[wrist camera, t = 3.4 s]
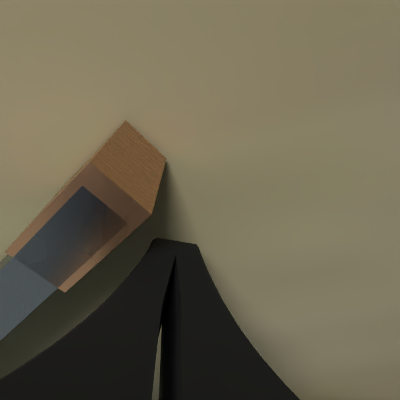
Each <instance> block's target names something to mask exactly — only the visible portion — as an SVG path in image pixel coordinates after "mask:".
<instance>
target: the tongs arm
mask: <svg viewBox="0 0 400 400" xmlns="http://www.w3.org/2000/svg"><path fill="white" fill-rule="evenodd" d="M165 162H166V158H165V157H164V156H163V155H162V154H161V153H160V152H159V151H158V150H157V149H155V148H154V147H153V146H152V145H151V144H150V143H149V142H148V141H147V140H146V139H145V138H144V137H143V136H142V135H141V134H140V133H139V132H138V131H136V130H135V129H134V128H133V127H132V126H131V125H130V124H129V123H128V122H127V121H125V122H124V123H123V124H122V125H121V126H120V127H119V128H118V129H117V130H116V131H115V132H114V133H113V134H112V135H111V136H110V138H109V139H108V140H107V141H106V142H105V143H104V144H103V145H102V146H101V147H100V148H99V149H98V150H97V151H96V152H95V153H94V155H93V156H92V157H91V158H90V159H89V160H88V161H87V162H86V163H85V164H84V165H83V166H82V167H81V168H80V169H79V170H78V172H77V173H76V174H75V175H74V176H73V177H72V178H71V179H70V180H69V181H68V182H67V183H66V184H65V185H64V186H63V187H62V189H61V190H60V191H59V192H58V193H57V194H56V195H55V196H54V198H53V199H52V200H51V201H50V202H49V203H48V204H47V205H46V207H45V208H44V209H43V210H42V211H41V212H40V213H39V214H38V216H37V217H36V218H35V219H34V220H33V221H32V222H31V223H30V224H29V226H28V227H27V228H26V229H25V230H24V231H23V232H22V233H21V235H20V236H19V237H18V238H17V239H16V240H15V241H14V242H13V244H12V245H11V246H10V247H9V248H8V249H7V250H6V251H5V252H6V253H7V254H8V255H7V256H6V257H5V258H4V259H3V260H2V261H1V262H0V341H1V340H2V339H3V338H4V337H5V336H6V335H7V334H8V333H9V332H10V331H11V330H13V329H14V328H15V327H16V326H17V325H18V324H19V323H20V322H21V321H22V320H23V319H25V318H26V317H27V316H28V315H29V314H30V313H31V312H32V311H33V310H34V309H35V308H37V307H38V306H39V305H40V304H41V303H42V302H43V301H44V300H45V299H46V298H47V297H49V296H50V295H51V294H52V293H53V292H54V291H55V290H56V289H57V288H59V289H60V290H62V291H63V292H66V291H67V290H69V289H70V288H71V287H72V286H73V285H74V284H75V283H76V282H77V281H79V280H80V279H81V278H82V277H83V276H84V275H85V274H86V273H87V272H89V271H90V270H91V269H92V268H93V267H94V266H95V265H96V264H97V263H99V262H100V261H101V260H102V259H103V258H104V257H105V256H106V255H107V254H109V253H110V252H111V251H112V250H113V249H114V248H115V247H116V246H117V245H119V244H120V243H121V242H122V241H123V240H124V239H125V238H126V237H127V236H129V235H130V234H131V233H132V232H133V231H134V230H135V229H136V228H137V227H139V226H140V225H141V224H142V223H143V222H144V221H145V220H146V219H147V218H149V217H150V216H151V215H152V211H153V208H154V204H155V200H156V196H157V192H158V189H159V185H160V181H161V177H162V173H163V170H164V166H165Z"/></svg>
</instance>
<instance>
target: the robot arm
mask: <svg viewBox="0 0 400 400" xmlns="http://www.w3.org/2000/svg"><path fill="white" fill-rule="evenodd" d="M161 324H162V333H161V360H160V388H159V400H300V399H299V398H298V397H297V396H296V395H295V394H294V393H293V392H292V391H291V390H290V389H289V388H288V387H287V386H286V385H285V384H284V383H283V381H282V380H281V379H280V378H279V377H278V376H277V375H276V373H275V372H274V371H273V370H272V369H271V368H270V367H269V365H268V364H267V363H266V362H265V361H264V360H263V358H262V357H261V356H260V355H259V353H258V352H257V351H256V350H255V348H254V347H253V346H252V344H251V343H250V342H249V340H248V339H247V338H246V336H245V335H244V333H243V332H242V331H241V329H240V328H239V326H238V325H237V323H236V322H235V320H234V318H233V317H232V315H231V314H230V312H229V310H228V309H227V307H226V305H225V304H224V302H223V300H222V298H221V296H220V295H219V293H218V291H217V289H216V287H215V285H214V283H213V281H212V279H211V277H210V275H209V272H208V270H207V268H206V266H205V263H204V261H203V258H202V256H201V253H200V250H199V247H198V246H197V245H196V244H191V243H185V242H179V241H173V240H167V239H161V238H156V239H154V240H153V241H152V243H151V245H150V247H149V249H148V250H147V252H146V254H145V255H144V256H143V258H142V259H141V261H140V262H139V263H138V265H137V266H136V267H135V268H134V270H133V271H132V272H131V273H130V275H129V276H128V277H127V278H126V279H125V281H124V282H123V283H122V284H121V285H120V286H119V287H118V288H117V289H116V290H115V291H114V292H113V293H112V295H111V296H110V297H109V298H108V299H107V300H106V301H105V302H104V303H103V304H101V305H100V306H99V307H98V308H97V309H96V310H95V311H94V312H93V313H92V314H90V315H89V316H88V317H87V318H86V319H85V320H84V321H82V322H81V323H80V324H79V325H77V326H76V327H75V328H74V329H72V330H71V331H70V332H69V333H67V334H66V335H65V336H64V337H62V338H61V339H60V340H58V341H57V342H56V343H54V344H53V345H52V346H50V347H49V348H47V349H46V350H44V351H43V352H41V353H40V354H38V355H37V356H35V357H34V358H32V359H31V360H29V361H28V362H26V363H25V364H24V365H22V366H21V367H19V368H18V369H16V370H15V371H13V372H11V373H10V374H8V375H7V376H5V377H3V378H2V379H0V400H151V399H152V389H153V379H154V370H155V360H156V352H157V343H158V337H159V333H160V329H161Z"/></svg>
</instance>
